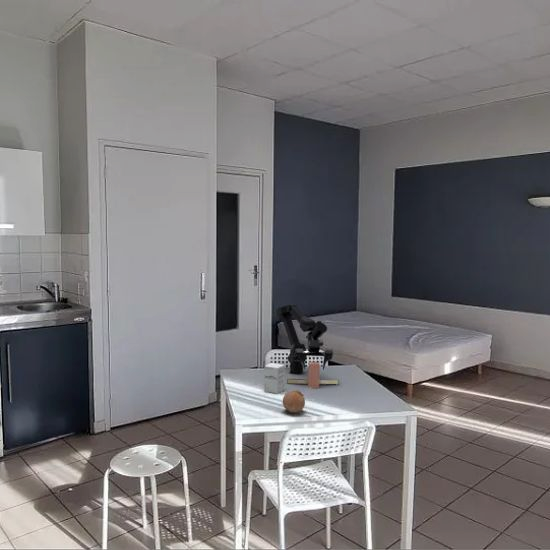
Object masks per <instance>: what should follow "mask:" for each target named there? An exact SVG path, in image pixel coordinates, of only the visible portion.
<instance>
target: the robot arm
mask: <svg viewBox="0 0 550 550" xmlns="http://www.w3.org/2000/svg"><path fill="white" fill-rule="evenodd" d="M275 313H276V316H277V318H278V320H279V321H281V322H282V324H283V326H284V328H285V329H284V330H285V331H286V335H287V338H288V340H289V344H290V349H289V354H288V356H287V357H286V358H287V362H289V365H290V366H289V367H290V368H289V374H295V375H302V374H303V373H304V370H306V360H307V357H323V361H322V362H323V363H322V370H323V371H324V370H325V367H326V365H327V363H328V362H330V361H331V360H333V355H334V351H333V349H328V348H327V349H326V348H325V349H324V351H323V352H322V351H321V347H324V339H323V338H322V339H320V338H321V337H323V336H324V334H325V333H326V332H327V330H328V326H327V325H326V324H325V323H324V322H322V321H321V320H317V321H315V320H313V318H310V317H308V316H306V314H304V313H303V312H302V310H300V309H299V307H298V306H297V304H294V303H292V304H287V305H284V306H278V307H277V309H276V312H275ZM293 318H294V319H295V320H296V321H297V322H298V323H299V328H300V330H301V331H302V332H303V333H306V332H307V335H306V338H305V339H307V349H306V345H305V344H304V343H301V342H300V341H299V336H298V334H297V331H296V328H295V325H294V323H293Z"/></svg>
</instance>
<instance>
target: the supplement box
mask: <svg viewBox="0 0 550 550" xmlns="http://www.w3.org/2000/svg"><path fill="white" fill-rule="evenodd" d="M285 367H286V366H285V364H281V363H273V362H270V363H268V364H266V365H264V380H263V383H264V384H263V392H264V391H265V392H267V393H272V394H276V395H278V394H280V393H281V392H283V391H284V390H285V389H284V386H285ZM279 392H280V393H279Z"/></svg>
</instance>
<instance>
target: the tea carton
mask: <svg viewBox="0 0 550 550" xmlns="http://www.w3.org/2000/svg"><path fill="white" fill-rule="evenodd" d="M320 365H321V364H320V362H319V361H308V376H307V377H308V378H307V379H308V384H307V387H308V386H309V387H308V388H309V389H320V384H319V379H320ZM310 387H311V388H310Z"/></svg>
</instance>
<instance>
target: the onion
mask: <svg viewBox="0 0 550 550" xmlns="http://www.w3.org/2000/svg"><path fill="white" fill-rule="evenodd" d="M282 406H283V407H284V409H285V411H286V412H287V413H289V414H299V413H301V412H302V411H303V409H304V408H305V406H306V399H305V397H304V394H303V393H302V391H300V390H292V391H288V392H287V393H285V394H284V396H283V398H282Z"/></svg>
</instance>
